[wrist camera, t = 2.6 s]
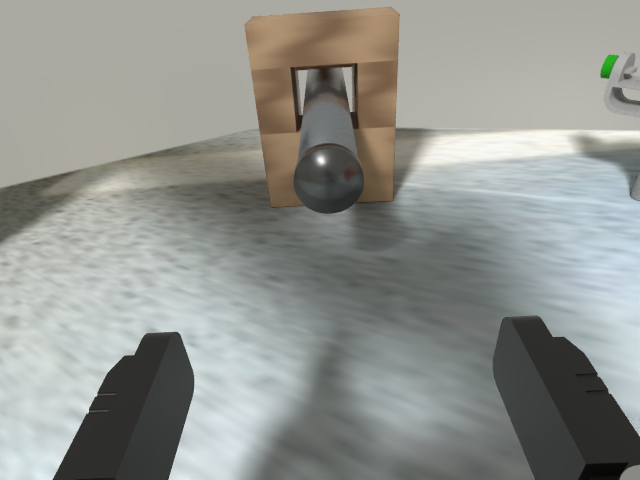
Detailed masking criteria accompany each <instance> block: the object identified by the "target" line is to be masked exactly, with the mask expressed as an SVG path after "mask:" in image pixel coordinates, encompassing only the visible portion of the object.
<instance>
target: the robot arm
mask: <svg viewBox="0 0 640 480" xmlns="http://www.w3.org/2000/svg"><path fill="white" fill-rule="evenodd" d="M493 372H494V378H495V381H496V385H497V387H498V390H499V392H500V394H501V397H502V399H503V402H504V404H505V407H506V409H507V412H508V414H509V416H510V419H511V421H512V424H513V426H514V429H515V431H516V434H517V436H518V438H519V441H520V443H521V446H522V448H523V451H524V453H525V456H526V458H527V460H528V463H529V465H530V468H531V470H532V473H533V475H534V478H535V480H640V437H639V435H638V434H637V432H636V431H635V429H634V428H633V426H632V425H631V423H630V422H629V420H628V419H627V417H626V416H625V414H624V413H623V411H622V410H621V408H620V407H619V405H618V404H617V402H616V401H615V399H614V398H613V396H612V395H611V394H609V392H608V389H607V387H606V385H605V384H604V382H603V381H602V379H601V378H600V377H598V376H597V372H596V370H595V369H594V367H593V366H592V364H591V363H590V361H589V360H588V358H587V357H586V355H585V354H584V353H583V352H582V351H581V350H579V349H578V348H577V347H576V346H575V345H573V344H572V343H571V342H570V341H568V340H567V339H566V338H565V337H552V335H551V333H550V332H549V330H548V329H547V327H546V325H545V324H544V322H543V321H542V319H541V318H540V317H538V316H520V317H505V318H504V319H503V320H502V323H501V327H500V331H499V336H498V340H497V345H496V349H495V353H494V358H493ZM193 392H194V373H193V369H192V367H191V364H190V361H189V358H188V355H187V352H186V349H185V347H184V344H183V341H182V338H181V336H180V334H179V333H178V332H163V333H147V334H145V335H144V337H143V338H142V340H141V342H140V344H139V346H138V349H137V351H136V353H135V355H130V356H124V357H123V358H122V359H121V360H120V361H119V362H118V363H117V364H116V365H115V366H114V367H113V368H112V369H111V370H110V371H109V372H108V373H107V375H106V377H105V379H104V381H103V383H102V385H101V387H100V389H99V391H98V393H97V394H98V395H97V397H95V398H94V400H93V402H92V404H91V406H90V408H89V413H88V414H86V416H85V418H84V420H83V422H82V424H81V426H80V428H79V430H78V432H77V434H76V435H75V437H74V439H73V441H72V443H71V445H70V447H69V449H68V451H67V453H66V455H65V457H64V459H63V461H62V463H61V465H60V467H59V469H58V471H57V472H56V474H55V476H54V478H53V480H168V479H169V475H170V472H171V468H172V465H173V462H174V458H175V455H176V451H177V448H178V445H179V441H180V438H181V434H182V431H183V428H184V424H185V421H186V417H187V414H188V410H189V407H190V404H191V400H192V397H193Z"/></svg>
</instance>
